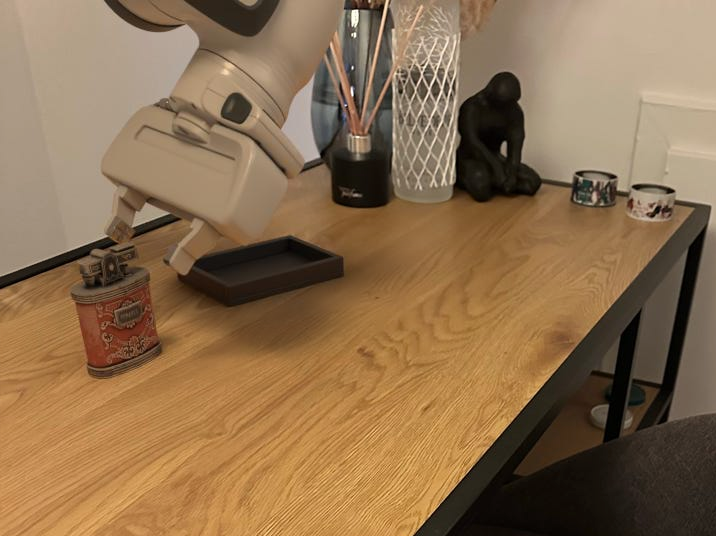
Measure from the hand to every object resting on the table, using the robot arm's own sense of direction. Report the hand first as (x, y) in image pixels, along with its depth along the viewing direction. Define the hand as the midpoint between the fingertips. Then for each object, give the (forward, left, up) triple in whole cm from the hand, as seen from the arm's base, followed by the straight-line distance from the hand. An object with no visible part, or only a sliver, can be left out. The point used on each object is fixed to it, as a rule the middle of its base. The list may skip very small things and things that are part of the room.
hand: (142, 254), depth 83 cm
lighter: (0, -3, -9) cm, 10 cm away
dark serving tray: (-10, +20, -9) cm, 24 cm away
